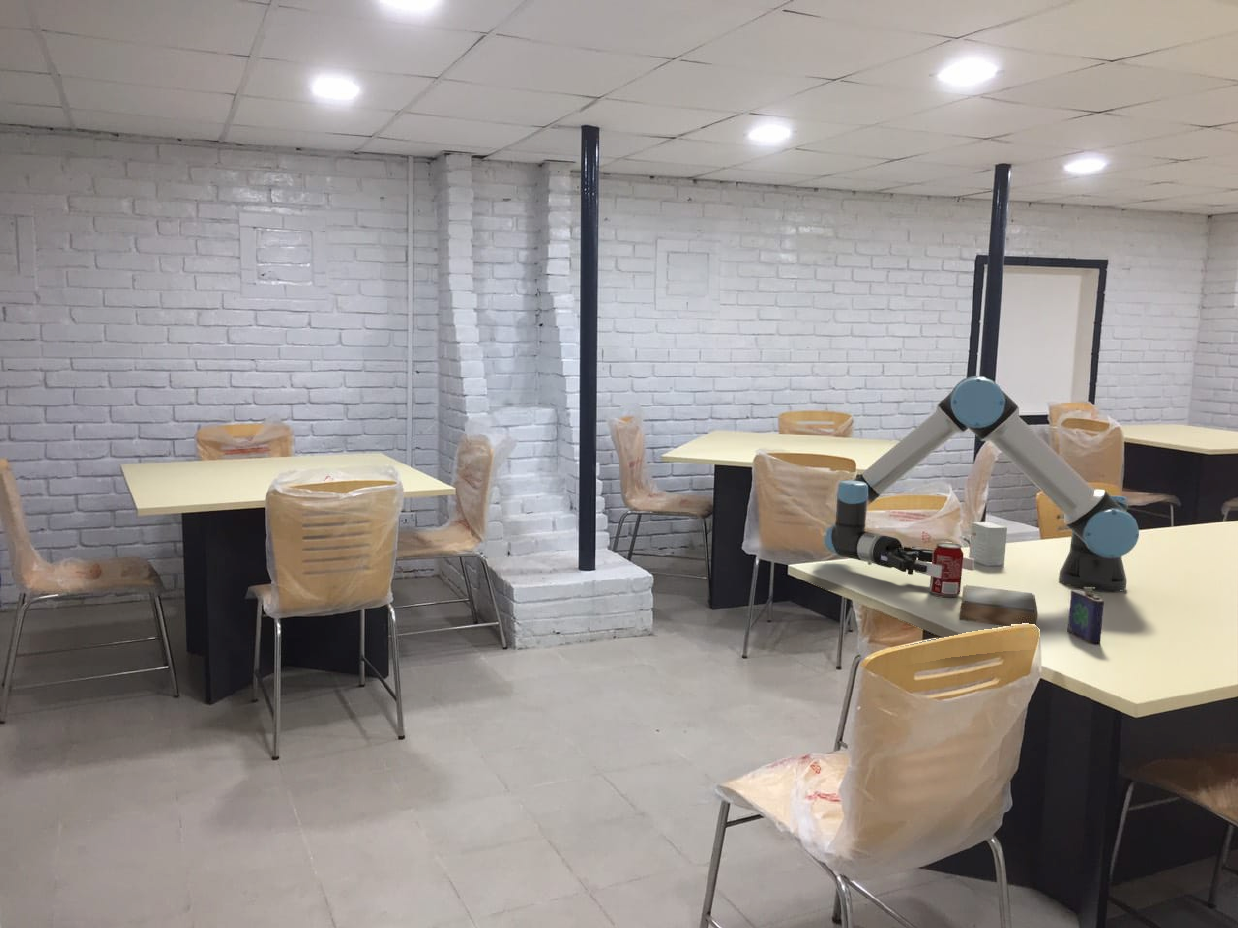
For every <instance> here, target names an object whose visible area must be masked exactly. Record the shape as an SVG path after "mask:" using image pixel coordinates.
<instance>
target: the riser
mask: <svg viewBox="0 0 1238 928" xmlns="http://www.w3.org/2000/svg"><path fill="white" fill-rule="evenodd" d="M961 594H962V596H961V606H960V616H959V619H960V620H963V621H970V622H976V621H978V622H977V623H983V622H984V624H991V623H993V624H992V625H998V624H999V625H998V626H1005V625H1011V624H1022V623H1029V624H1035V625H1036V626H1037V624H1038V623H1037V622H1038V615H1039V613H1038V606H1037V601H1036V596H1035V594H1033V593H1032V592H1026V591H1018V590H1011V589H1003V588H1001V589H1000V588H996V587H995V588H994V587H993V588H992V587H985V586H978V585H970V584H969V585H968V584H965V585H963V587H962V593H961Z"/></svg>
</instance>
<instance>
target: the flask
mask: <svg viewBox="0 0 1238 928" xmlns="http://www.w3.org/2000/svg"><path fill="white" fill-rule="evenodd" d="M1093 589H1095V587H1093V588H1092V587H1084V589H1083V590H1085V591H1083V590H1080V589H1072V590H1070V600H1069V601H1070V602H1069V603H1070V604H1069V609H1068V610H1069V611H1068V612H1069V613H1068V621H1067V627H1066V631H1067V633H1069V634H1072V635H1073V636H1075V637H1077V638H1078V639H1081V640H1083V641H1085V642H1086V643H1088V644H1091V645H1095V646H1098V645H1101V637H1102V636H1101V635H1102V627H1103V626H1102V625H1103V615H1104V605H1105V601H1104V600H1103V599H1102V598H1100V596H1097V595H1096V594H1097V593H1096V592H1095V591H1093Z"/></svg>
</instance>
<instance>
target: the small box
mask: <svg viewBox="0 0 1238 928" xmlns="http://www.w3.org/2000/svg"><path fill="white" fill-rule="evenodd" d="M970 530H971V531H970V541H969V543H970V544H969V554H968V555H969V556H968V558H972V559H975V561H976V563H977V564H980V565H983V566H987V567H988V566H989V567H992V566H993V567H994V566H1004V565H1005V555H1006V545H1007V544H1006V543H1007V542H1006V541H1007V531H1008V528H1007V526H1003V525H1001V524H1000V525H999V524H996V523H993V522H990V521H972V522H971V529H970Z"/></svg>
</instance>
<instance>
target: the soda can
mask: <svg viewBox="0 0 1238 928" xmlns="http://www.w3.org/2000/svg"><path fill="white" fill-rule="evenodd" d="M963 557H964V552H963V550H962V545H961V544H959V543H954V542H949V541H945V542H944V541H939V542H937V543H936V546H935V547H934V550H933V557H932V562H931V564H935V565H940V566H942V573H941V578H937V577H933V576H930V582H929V591H930V592H931V593H932V594H933V595H934V594H935V595H934V596H936V595H938V596H937V597H940V596H942V598H947V597H948V598H949V599H950V598H955V597H957V596H960V594H961V585H962V574H963V573H962V572H963V568H962V565H963Z"/></svg>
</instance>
